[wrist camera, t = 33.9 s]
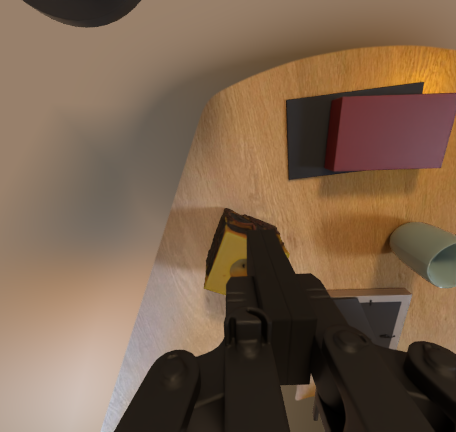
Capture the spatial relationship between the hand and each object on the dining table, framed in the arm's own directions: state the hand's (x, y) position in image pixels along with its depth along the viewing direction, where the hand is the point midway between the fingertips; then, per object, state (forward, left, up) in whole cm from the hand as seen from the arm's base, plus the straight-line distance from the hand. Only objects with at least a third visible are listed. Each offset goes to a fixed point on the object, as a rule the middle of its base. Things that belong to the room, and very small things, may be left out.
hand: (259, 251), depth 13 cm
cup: (+31, +10, -27) cm, 42 cm away
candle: (+8, -9, -27) cm, 29 cm away
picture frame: (+41, -10, -27) cm, 50 cm away
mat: (+10, +16, -26) cm, 32 cm away
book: (+7, +13, -24) cm, 29 cm away
